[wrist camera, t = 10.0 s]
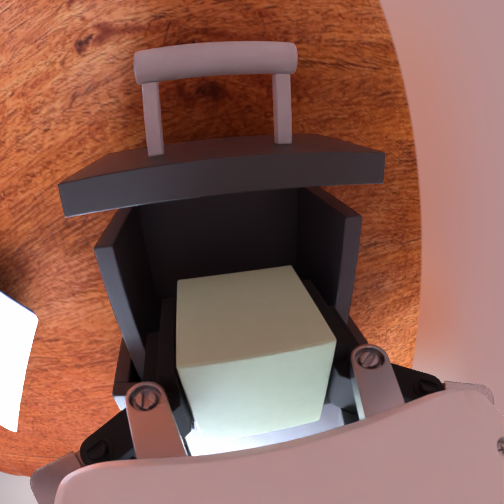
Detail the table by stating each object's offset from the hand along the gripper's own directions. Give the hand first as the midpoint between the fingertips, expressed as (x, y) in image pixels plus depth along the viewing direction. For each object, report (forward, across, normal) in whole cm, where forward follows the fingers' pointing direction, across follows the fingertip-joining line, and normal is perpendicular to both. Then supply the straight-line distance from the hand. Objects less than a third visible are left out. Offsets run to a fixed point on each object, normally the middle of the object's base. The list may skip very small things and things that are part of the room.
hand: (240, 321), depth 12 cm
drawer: (+7, 0, -2) cm, 7 cm away
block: (0, 0, 0) cm, 0 cm away
